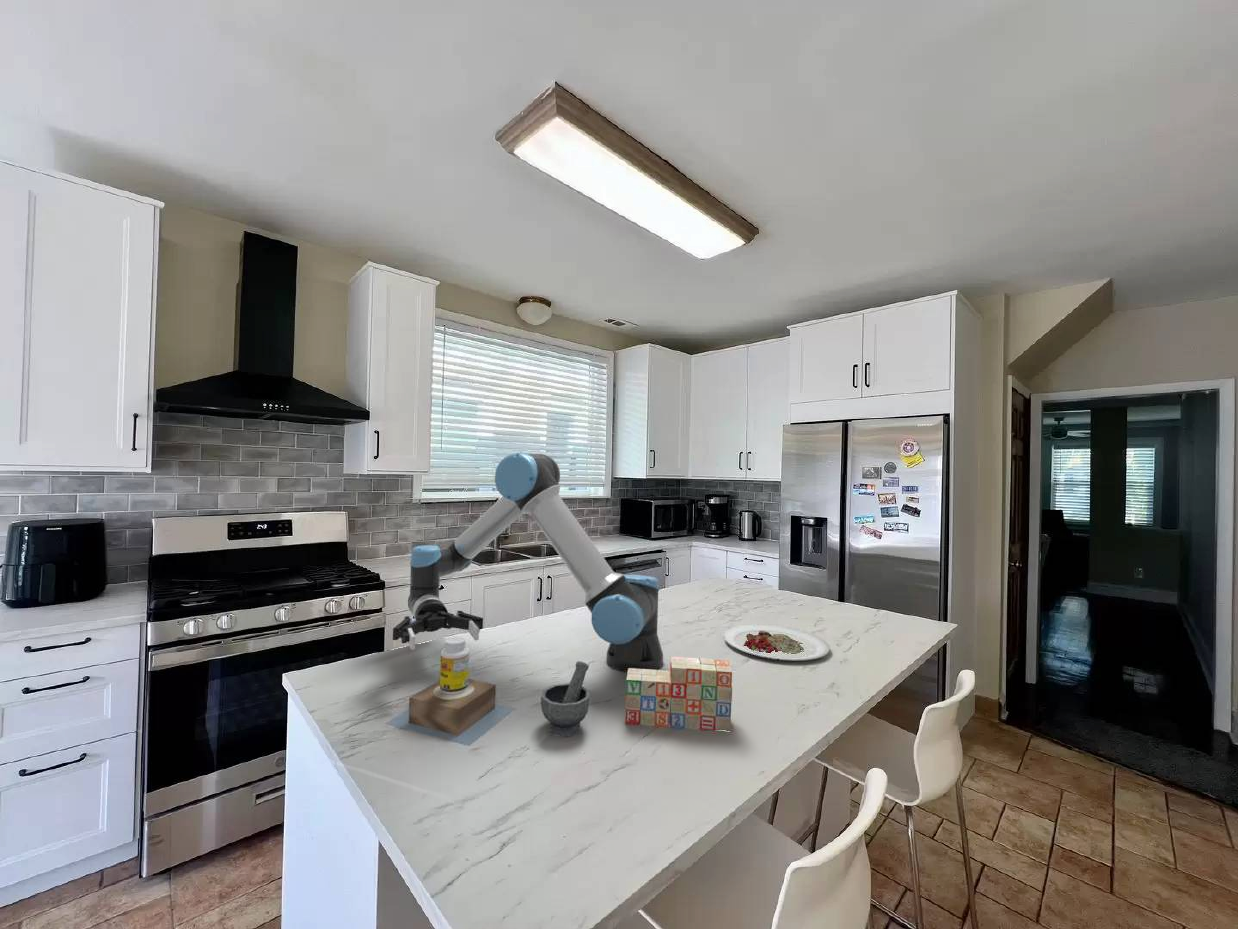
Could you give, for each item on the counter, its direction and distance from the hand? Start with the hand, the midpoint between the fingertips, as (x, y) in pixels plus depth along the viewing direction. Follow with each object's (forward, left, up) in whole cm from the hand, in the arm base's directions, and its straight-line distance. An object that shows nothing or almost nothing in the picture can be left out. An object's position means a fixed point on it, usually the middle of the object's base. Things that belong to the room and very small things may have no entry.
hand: (446, 638), depth 114 cm
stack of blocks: (-50, -11, -13) cm, 53 cm away
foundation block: (-7, +6, -13) cm, 16 cm away
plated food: (-65, -68, -14) cm, 95 cm away
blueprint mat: (-7, +6, -13) cm, 16 cm away
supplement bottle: (-7, +6, -8) cm, 12 cm away
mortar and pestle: (-30, 0, -13) cm, 33 cm away
